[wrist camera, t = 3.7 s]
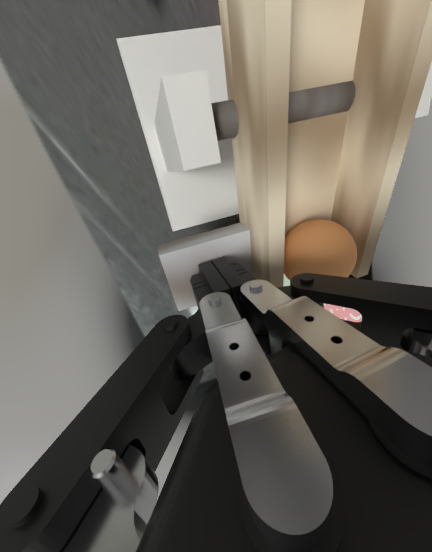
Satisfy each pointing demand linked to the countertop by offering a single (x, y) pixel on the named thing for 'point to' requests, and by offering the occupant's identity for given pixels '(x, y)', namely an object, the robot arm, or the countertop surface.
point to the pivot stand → (190, 120)
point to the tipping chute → (310, 125)
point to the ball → (319, 249)
